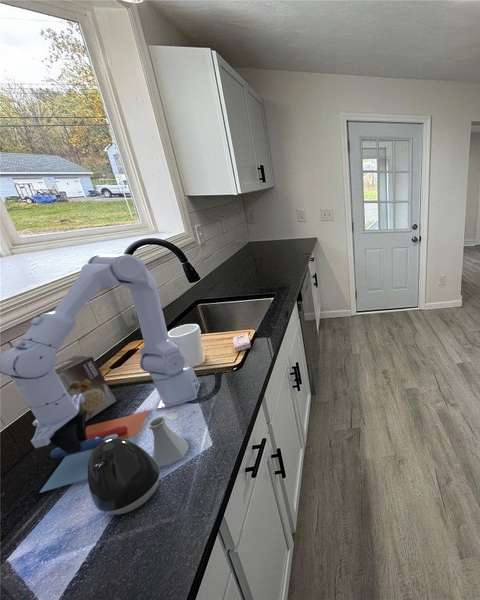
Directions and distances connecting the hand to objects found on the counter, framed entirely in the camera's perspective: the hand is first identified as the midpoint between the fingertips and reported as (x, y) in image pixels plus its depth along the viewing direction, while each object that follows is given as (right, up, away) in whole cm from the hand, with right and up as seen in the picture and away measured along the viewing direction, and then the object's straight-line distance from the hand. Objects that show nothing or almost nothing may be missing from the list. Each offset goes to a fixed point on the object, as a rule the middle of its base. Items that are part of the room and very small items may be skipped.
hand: (77, 446), depth 71 cm
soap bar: (+12, +17, +49) cm, 53 cm away
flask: (+19, -3, +3) cm, 20 cm away
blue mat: (+1, -5, +2) cm, 5 cm away
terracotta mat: (-2, -1, +11) cm, 11 cm away
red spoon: (-3, -2, +8) cm, 9 cm away
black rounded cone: (+19, -8, -7) cm, 22 cm away
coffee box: (-15, +1, +19) cm, 24 cm away
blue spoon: (+1, -1, +1) cm, 2 cm away
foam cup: (0, +11, +40) cm, 42 cm away
